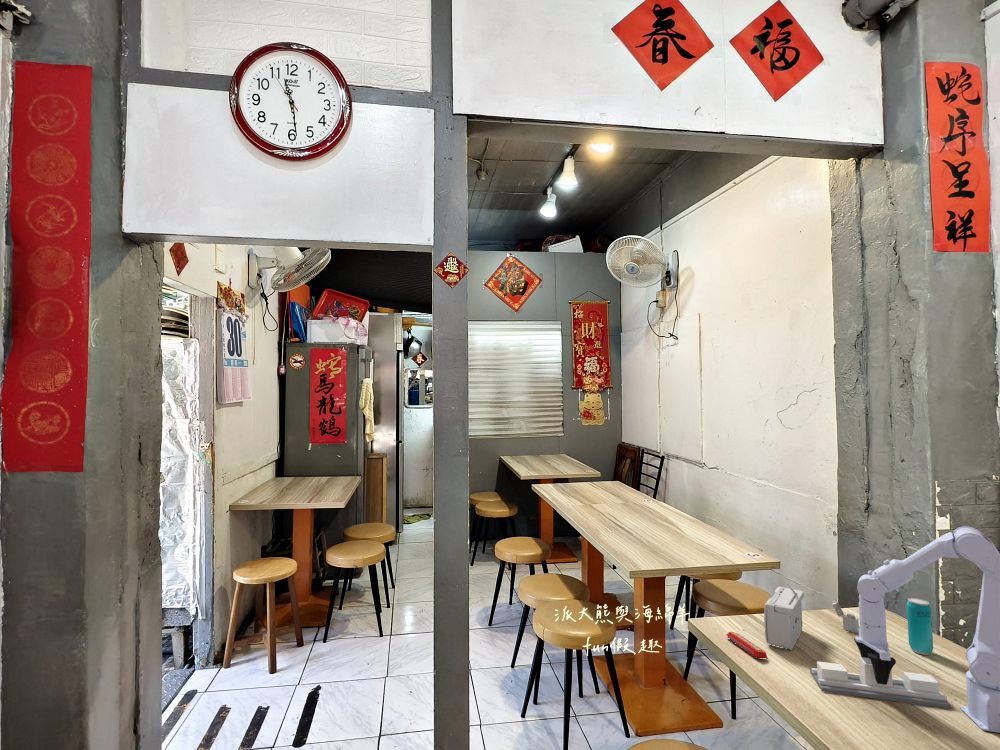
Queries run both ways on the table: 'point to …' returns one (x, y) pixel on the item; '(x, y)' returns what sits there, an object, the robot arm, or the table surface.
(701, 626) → the table surface
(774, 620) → the stereo radio cassette player
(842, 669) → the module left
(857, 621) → the lighter
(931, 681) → the block
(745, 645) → the red long bar
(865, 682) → the module block
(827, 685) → the rail
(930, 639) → the beverage can
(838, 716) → the table surface
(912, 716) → the table surface
